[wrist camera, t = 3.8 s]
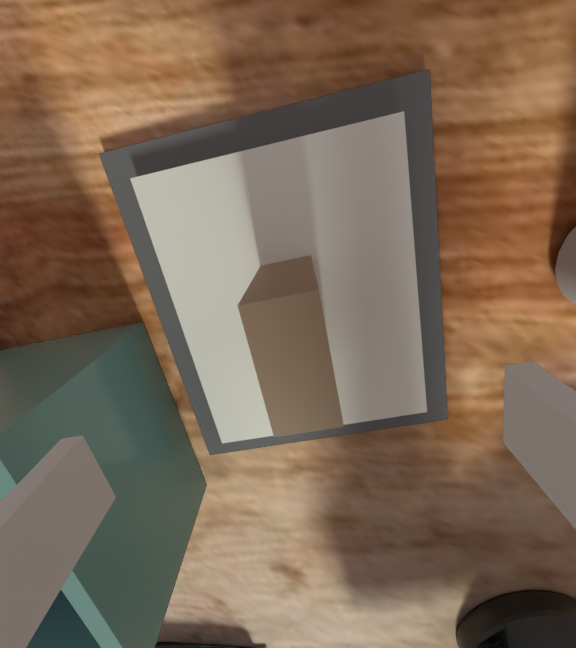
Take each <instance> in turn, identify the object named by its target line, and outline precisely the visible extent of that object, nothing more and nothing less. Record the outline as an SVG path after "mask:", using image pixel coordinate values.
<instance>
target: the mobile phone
mask: <svg viewBox="0 0 576 648" xmlns="http://www.w3.org/2000/svg"><path fill="white" fill-rule="evenodd" d="M155 648H239V647H229V646H216V645H200V644H190V643H174V642H161V643H157V644H156V645H155Z"/></svg>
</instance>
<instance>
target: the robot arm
mask: <svg viewBox="0 0 576 648" xmlns="http://www.w3.org/2000/svg"><path fill="white" fill-rule="evenodd" d="M503 443H504V444H505V445H506V446H507V448H508V449H509V450H510V451H511V452H512V454H513V455H514V456H515V457H516V459H517V460H518V461H519V462H520V463H521V465H522V466H523V467H524V468H525V469H526V471H527V472H528V473H529V474H530V475H531V477H532V478H533V479H534V480H535V481H536V483H537V484H538V485H539V486H540V487H541V489H542V490H543V491H544V492H545V493H546V495H547V496H548V497H549V498H550V499H551V501H552V502H553V503H554V504H555V506H556V507H557V508H558V509H559V510H560V512H561V513H562V514H563V515H564V516H565V518H566V519H567V520H568V521H569V522H570V524H571V525H572V526H573V527H574V528H575V530H576V391H575V390H573V389H572V388H570V387H569V386H568V385H566V384H565V383H563V382H562V381H560V380H559V379H558V378H556V377H555V376H553V375H552V374H551V373H549V372H548V371H546V370H545V369H543V368H542V367H541V366H539V365H538V364H536V363H535V362H534V361H532V362H526V363H520V364H514V365H508V366H505V384H504V419H503ZM115 498H116V496H115V494H114V492H113V490H112V489H111V487H110V485H109V483H108V481H107V479H106V477H105V476H104V474H103V472H102V470H101V468H100V466H99V464H98V463H97V461H96V459H95V457H94V455H93V453H92V451H91V450H90V448H89V446H88V444H87V442H86V440H85V438H84V437H83V435H81V436H75V437H69V438H63V439H61V440H60V441H59V442H58V443H57V444H56V445H55V446H54V447H53V448H52V449H51V450H50V451H49V452H48V453H47V454H46V455H45V456H44V457H43V458H42V459H41V460H40V461H39V462H38V463H37V465H36V466H35V467H34V468H33V469H32V470H31V471H30V472H29V473H28V474H27V475H26V476H25V477H24V478H23V479H22V480H21V481H20V482H19V483H18V484H17V485H16V486H15V487H14V488H13V489H12V490H11V491H10V493H9V494H8V495H7V496H6V497H5V498H4V499H3V500H2V501H1V502H0V648H26V647H27V645H28V644H29V642H30V640H31V639H32V637H33V635H34V633H35V632H36V630H37V628H38V627H39V625H40V623H41V622H42V620H43V618H44V617H45V615H46V613H47V612H48V610H49V608H50V607H51V605H52V603H53V602H54V600H55V598H56V597H57V595H58V593H59V592H60V590H61V588H62V587H63V585H64V583H65V582H66V580H67V578H68V577H69V575H70V573H71V572H72V570H73V568H74V567H75V565H76V563H77V562H78V560H79V558H80V557H81V555H82V553H83V552H84V550H85V548H86V547H87V545H88V543H89V542H90V540H91V538H92V537H93V535H94V533H95V531H96V530H97V528H98V526H99V525H100V523H101V521H102V520H103V518H104V516H105V515H106V513H107V511H108V510H109V508H110V506H111V505H112V503H113V501H114V500H115ZM457 644H458V647H459V648H576V600H575V599H573V598H571V597H568V596H565V595H562V594H558V593H552V592H542V591H531V592H520V593H514V594H509V595H506V596H502V597H499V598H496V599H493V600H491V601H489V602H487V603H485V604H483V605H481V606H479V607H478V608H476V609H475V610H473V611H472V612H471V613H470V614H469V615H467V616H466V618H465V619H464V620H463V621H462V623H461V624H460V626H459V628H458V631H457Z"/></svg>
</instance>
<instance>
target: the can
mask: <svg viewBox="0 0 576 648" xmlns="http://www.w3.org/2000/svg"><path fill="white" fill-rule="evenodd" d="M555 272H556V280H557V285H558V287H559V288H560V290H561V292H562V294H563V295H564V297H566V298H567V299H568V300H570V301H571V302H572V303H574V304H575V305H576V227H575V228H574V229H573V230H572V231H571V232H570V233H569V234H568V236H567V238H566V239H565V241H564V243H563V245H562V247H561V249H560V250H559V253H558V258H557V262H556V267H555Z"/></svg>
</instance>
